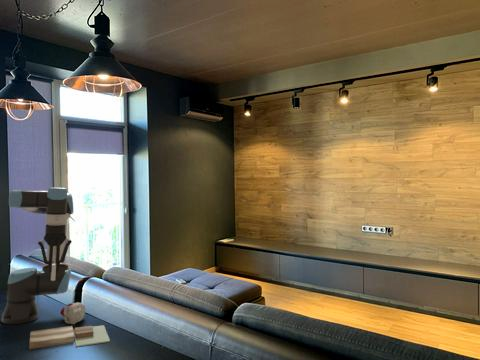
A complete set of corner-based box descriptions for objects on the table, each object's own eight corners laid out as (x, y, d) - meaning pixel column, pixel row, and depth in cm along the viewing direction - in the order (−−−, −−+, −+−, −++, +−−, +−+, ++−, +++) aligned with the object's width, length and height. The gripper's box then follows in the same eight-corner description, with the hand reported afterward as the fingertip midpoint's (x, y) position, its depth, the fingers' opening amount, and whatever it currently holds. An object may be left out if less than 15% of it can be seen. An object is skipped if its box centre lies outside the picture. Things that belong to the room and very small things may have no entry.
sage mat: (73, 330, 160) (73, 329, 160) (103, 326, 167) (103, 325, 167) (76, 347, 145) (76, 345, 145) (109, 341, 151) (109, 340, 151)
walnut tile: (74, 332, 157) (74, 327, 157) (91, 330, 161) (92, 325, 161) (75, 338, 151) (75, 333, 151) (93, 336, 154) (93, 331, 154)
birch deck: (30, 337, 152) (30, 331, 152) (72, 331, 159) (72, 325, 159) (29, 349, 141) (29, 342, 141) (73, 342, 149) (74, 336, 149)
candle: (76, 326, 163) (51, 325, 168) (94, 318, 174) (70, 317, 179) (75, 306, 164) (50, 305, 169) (93, 299, 174) (69, 299, 179)
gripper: (38, 225, 145) (35, 283, 145) (73, 224, 152) (70, 280, 152) (37, 223, 151) (35, 279, 151) (71, 222, 158) (68, 276, 158)
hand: (52, 279), depth 151 cm, fingers closed
